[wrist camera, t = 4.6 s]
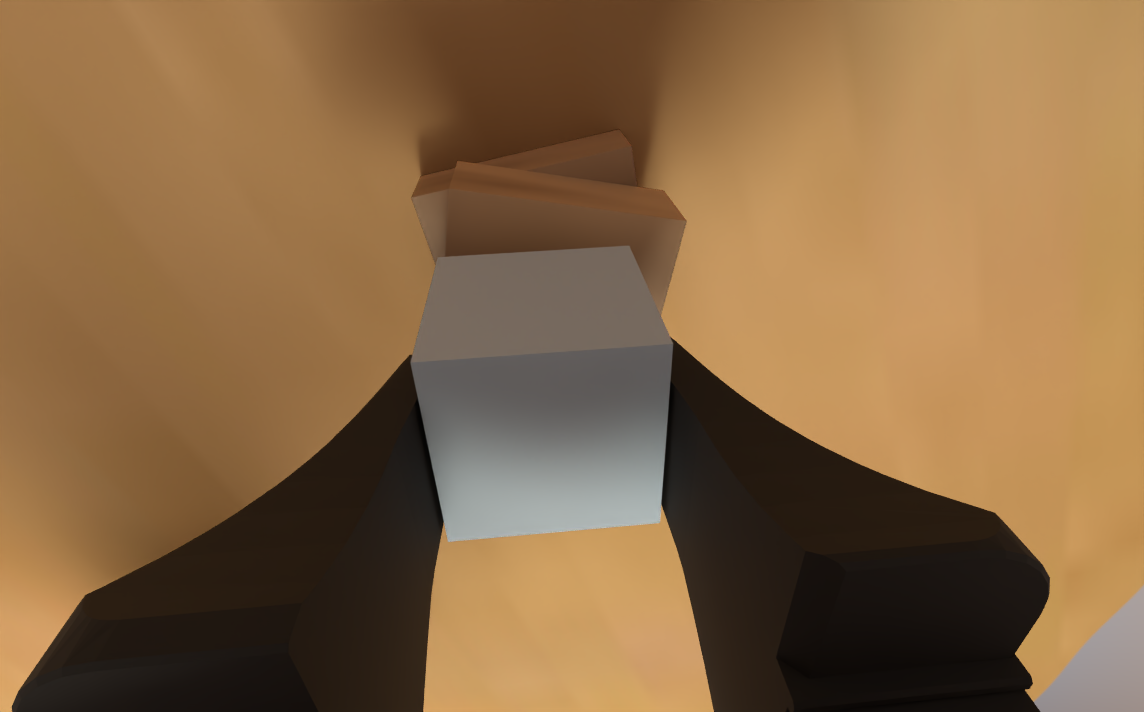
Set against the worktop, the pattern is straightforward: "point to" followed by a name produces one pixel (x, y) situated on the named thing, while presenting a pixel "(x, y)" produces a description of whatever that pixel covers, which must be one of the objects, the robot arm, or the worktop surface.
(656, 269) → the slab top
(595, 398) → the gray cube
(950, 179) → the worktop surface
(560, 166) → the slab base
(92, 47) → the worktop surface
